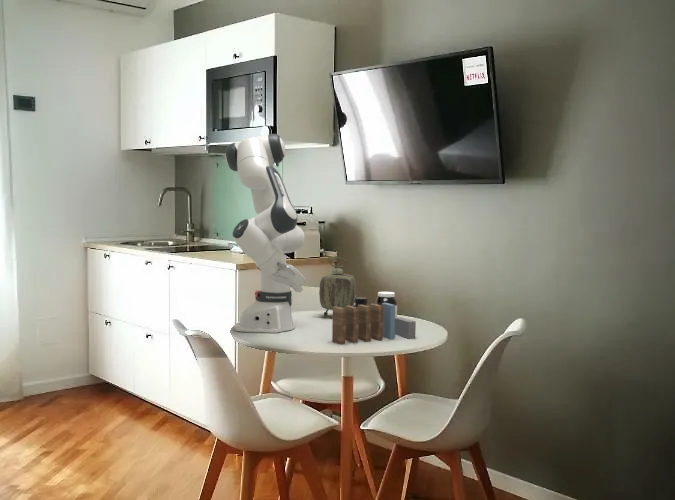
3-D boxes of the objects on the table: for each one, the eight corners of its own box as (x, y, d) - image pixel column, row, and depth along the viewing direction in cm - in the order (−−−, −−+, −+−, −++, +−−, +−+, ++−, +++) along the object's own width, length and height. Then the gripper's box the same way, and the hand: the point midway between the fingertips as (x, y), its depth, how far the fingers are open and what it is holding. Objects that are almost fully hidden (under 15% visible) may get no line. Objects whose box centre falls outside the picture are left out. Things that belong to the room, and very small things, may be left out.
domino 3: (366, 341, 233) (366, 307, 232) (357, 338, 238) (357, 304, 237) (370, 341, 234) (371, 307, 233) (361, 338, 239) (362, 304, 238)
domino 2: (353, 343, 231) (354, 308, 230) (344, 339, 236) (345, 305, 235) (358, 342, 232) (358, 307, 231) (349, 339, 237) (349, 305, 236)
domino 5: (390, 339, 238) (391, 305, 237) (381, 336, 243) (381, 303, 242) (394, 338, 239) (395, 305, 238) (385, 335, 244) (385, 302, 243)
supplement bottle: (372, 328, 257) (373, 297, 256) (365, 332, 250) (366, 299, 250) (355, 327, 259) (356, 296, 259) (348, 330, 253) (349, 298, 252)
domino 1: (340, 344, 228) (341, 309, 227) (332, 341, 234) (332, 306, 233) (345, 344, 229) (345, 308, 228) (336, 340, 234) (337, 306, 234)
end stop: (408, 338, 239) (408, 322, 239) (392, 333, 248) (392, 317, 248) (415, 338, 241) (415, 321, 240) (399, 333, 250) (399, 316, 249)
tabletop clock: (355, 316, 284) (357, 256, 282) (353, 320, 275) (354, 258, 273) (321, 314, 286) (322, 255, 284) (318, 318, 277) (319, 257, 275)
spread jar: (399, 323, 269) (399, 294, 269) (372, 324, 266) (373, 294, 265) (388, 318, 281) (389, 290, 280) (362, 319, 278) (363, 290, 277)
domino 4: (378, 340, 236) (379, 306, 235) (369, 337, 241) (369, 303, 240) (382, 340, 236) (383, 306, 236) (373, 337, 242) (374, 303, 241)
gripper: (292, 257, 209) (320, 287, 214) (266, 252, 227) (292, 280, 232) (279, 272, 207) (307, 302, 213) (254, 266, 225) (280, 293, 231)
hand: (299, 290), depth 223 cm, fingers closed
